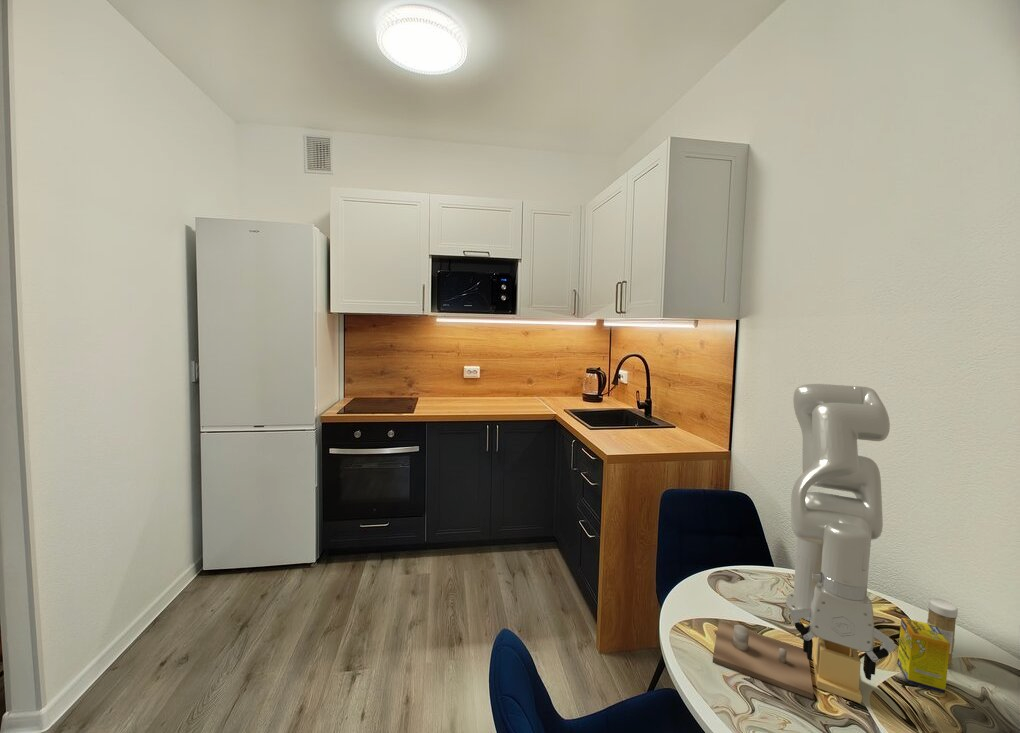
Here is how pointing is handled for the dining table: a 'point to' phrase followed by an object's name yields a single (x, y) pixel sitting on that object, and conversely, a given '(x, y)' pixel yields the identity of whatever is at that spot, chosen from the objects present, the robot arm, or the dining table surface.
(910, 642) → the supplement box
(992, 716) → the dining table surface
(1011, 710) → the dining table surface
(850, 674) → the tan stepped holder block
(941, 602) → the sprinkles bottle
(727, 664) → the base
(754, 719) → the dining table surface
